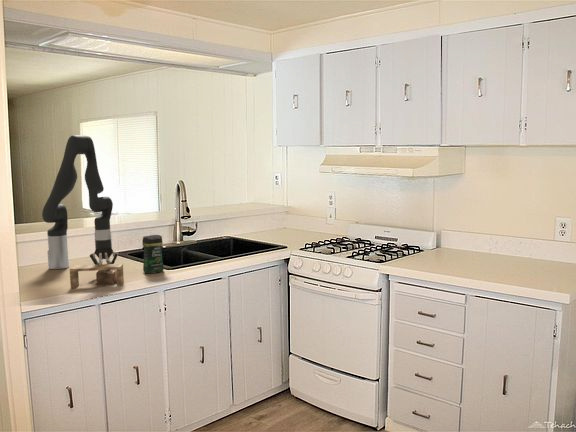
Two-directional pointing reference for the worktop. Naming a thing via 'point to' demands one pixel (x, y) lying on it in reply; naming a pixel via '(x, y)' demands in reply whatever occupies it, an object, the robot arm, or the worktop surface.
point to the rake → (104, 277)
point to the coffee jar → (152, 254)
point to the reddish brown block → (114, 274)
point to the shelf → (74, 270)
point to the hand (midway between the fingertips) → (105, 273)
